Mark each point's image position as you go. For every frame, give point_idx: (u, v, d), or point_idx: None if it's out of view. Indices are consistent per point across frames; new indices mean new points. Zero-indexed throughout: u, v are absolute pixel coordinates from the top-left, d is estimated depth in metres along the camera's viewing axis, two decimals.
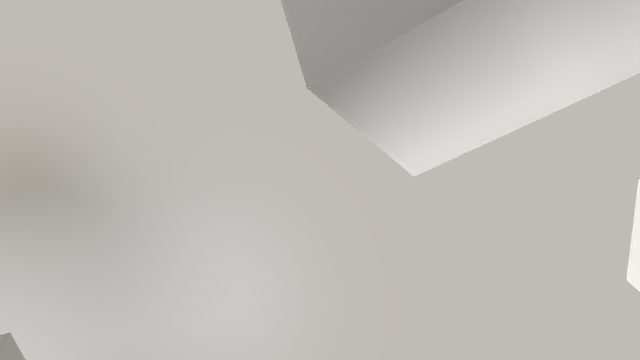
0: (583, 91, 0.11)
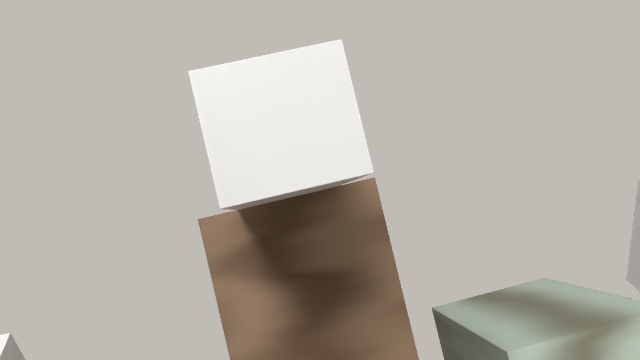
0: None
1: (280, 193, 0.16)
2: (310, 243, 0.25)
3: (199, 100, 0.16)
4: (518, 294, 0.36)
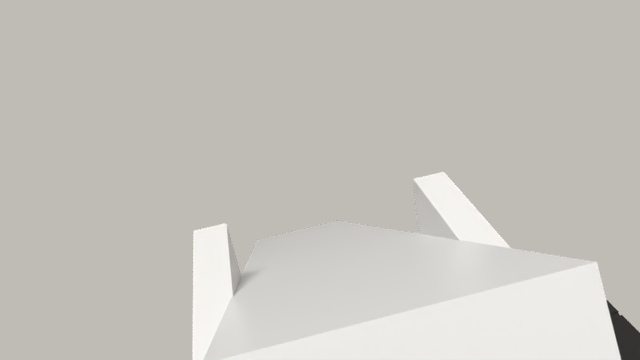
0: (465, 247, 0.10)
1: None
2: None
3: None
4: None
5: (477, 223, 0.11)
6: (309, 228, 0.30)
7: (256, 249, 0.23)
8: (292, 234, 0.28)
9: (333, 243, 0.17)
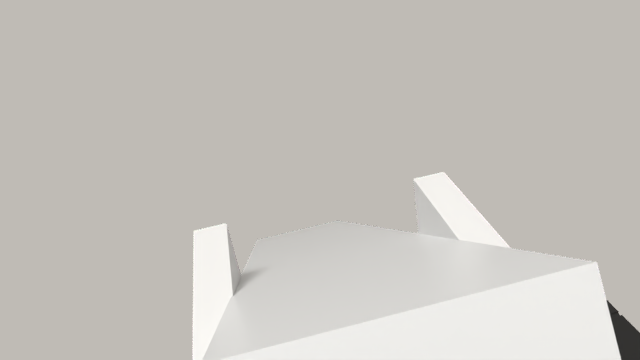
0: (466, 247, 0.10)
1: None
2: None
3: None
4: None
5: (477, 223, 0.11)
6: (309, 228, 0.30)
7: (256, 249, 0.23)
8: (292, 234, 0.28)
9: (333, 243, 0.17)
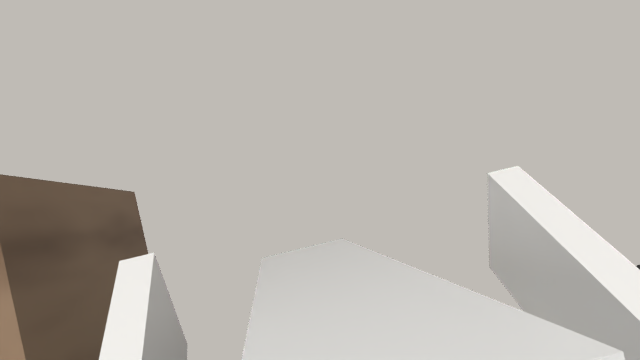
0: (481, 304, 0.10)
1: None
2: None
3: None
4: None
5: (566, 217, 0.11)
6: (314, 247, 0.30)
7: (262, 274, 0.23)
8: (297, 254, 0.28)
9: (341, 276, 0.17)
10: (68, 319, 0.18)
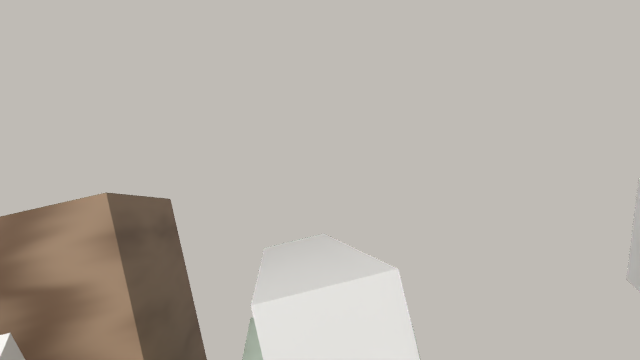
0: (369, 260, 0.21)
1: None
2: (37, 259, 0.25)
3: (261, 334, 0.17)
4: None
5: None
6: (302, 239, 0.41)
7: (264, 256, 0.34)
8: (289, 244, 0.39)
9: (313, 254, 0.28)
10: (144, 281, 0.29)
